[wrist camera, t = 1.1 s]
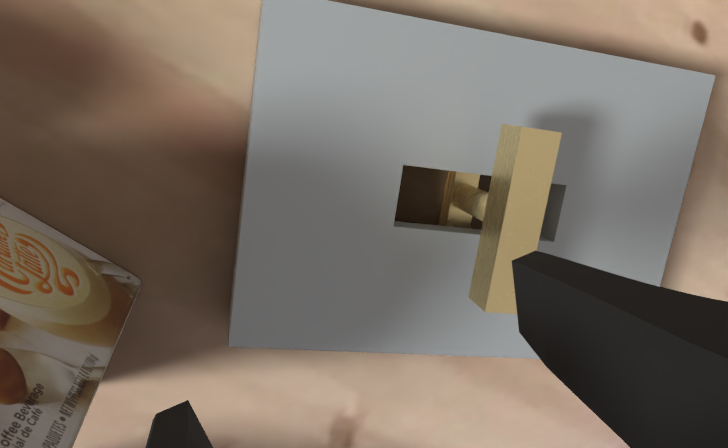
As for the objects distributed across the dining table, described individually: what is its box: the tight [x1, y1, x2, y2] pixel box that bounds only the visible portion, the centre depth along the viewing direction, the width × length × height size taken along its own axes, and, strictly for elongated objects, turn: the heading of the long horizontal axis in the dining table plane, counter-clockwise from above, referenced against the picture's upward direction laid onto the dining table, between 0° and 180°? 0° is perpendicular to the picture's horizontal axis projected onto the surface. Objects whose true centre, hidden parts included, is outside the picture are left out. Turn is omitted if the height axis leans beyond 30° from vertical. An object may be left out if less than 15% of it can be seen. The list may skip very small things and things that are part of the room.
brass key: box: [438, 124, 562, 314], centre depth 24 cm, size 2×7×7 cm, turn 171°
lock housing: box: [228, 0, 716, 359], centre depth 26 cm, size 20×14×3 cm
